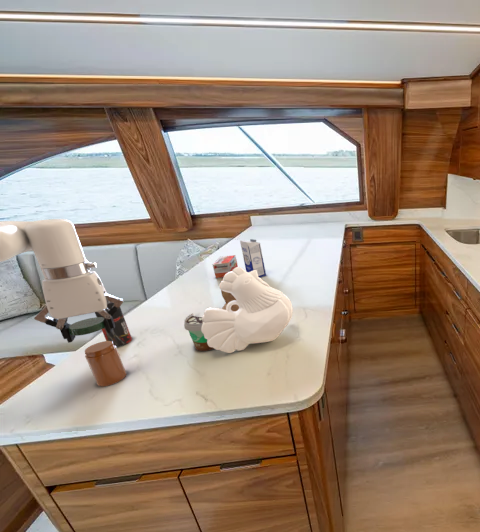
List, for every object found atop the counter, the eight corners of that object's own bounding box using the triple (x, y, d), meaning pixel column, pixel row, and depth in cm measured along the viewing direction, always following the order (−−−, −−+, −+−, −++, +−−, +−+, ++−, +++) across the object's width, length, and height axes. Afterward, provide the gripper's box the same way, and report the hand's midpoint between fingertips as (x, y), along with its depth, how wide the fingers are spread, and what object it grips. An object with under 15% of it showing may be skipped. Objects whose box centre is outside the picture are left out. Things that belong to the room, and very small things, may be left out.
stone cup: (249, 318, 114) (241, 281, 109) (215, 321, 112) (206, 284, 107) (259, 301, 128) (252, 268, 123) (229, 304, 126) (221, 271, 121)
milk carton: (247, 276, 157) (239, 240, 151) (259, 273, 162) (252, 237, 156) (254, 279, 153) (246, 241, 146) (266, 275, 158) (259, 239, 151)
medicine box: (222, 269, 169) (219, 256, 167) (238, 267, 171) (235, 254, 169) (215, 278, 156) (211, 264, 153) (232, 276, 158) (229, 262, 155)
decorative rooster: (300, 304, 109) (245, 256, 100) (302, 315, 94) (238, 261, 86) (248, 356, 104) (186, 311, 96) (242, 377, 90) (168, 325, 81)
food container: (181, 349, 95) (172, 322, 91) (198, 339, 100) (191, 313, 97) (210, 356, 91) (203, 327, 88) (227, 345, 97) (220, 317, 93)
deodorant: (129, 344, 98) (114, 303, 94) (105, 349, 96) (88, 308, 91) (133, 335, 103) (119, 296, 98) (111, 341, 101) (95, 301, 96)
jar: (95, 389, 78) (80, 356, 75) (99, 377, 83) (86, 345, 79) (125, 380, 81) (112, 347, 78) (128, 369, 86) (115, 337, 83)
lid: (109, 320, 81) (107, 314, 81) (104, 330, 76) (102, 324, 75) (74, 327, 77) (72, 321, 77) (66, 338, 72) (64, 332, 72)
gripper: (117, 260, 79) (136, 320, 85) (19, 274, 70) (48, 339, 76) (112, 268, 74) (133, 331, 79) (4, 283, 64) (37, 354, 70)
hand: (91, 335), depth 77 cm, fingers closed on lid, 6 cm apart
